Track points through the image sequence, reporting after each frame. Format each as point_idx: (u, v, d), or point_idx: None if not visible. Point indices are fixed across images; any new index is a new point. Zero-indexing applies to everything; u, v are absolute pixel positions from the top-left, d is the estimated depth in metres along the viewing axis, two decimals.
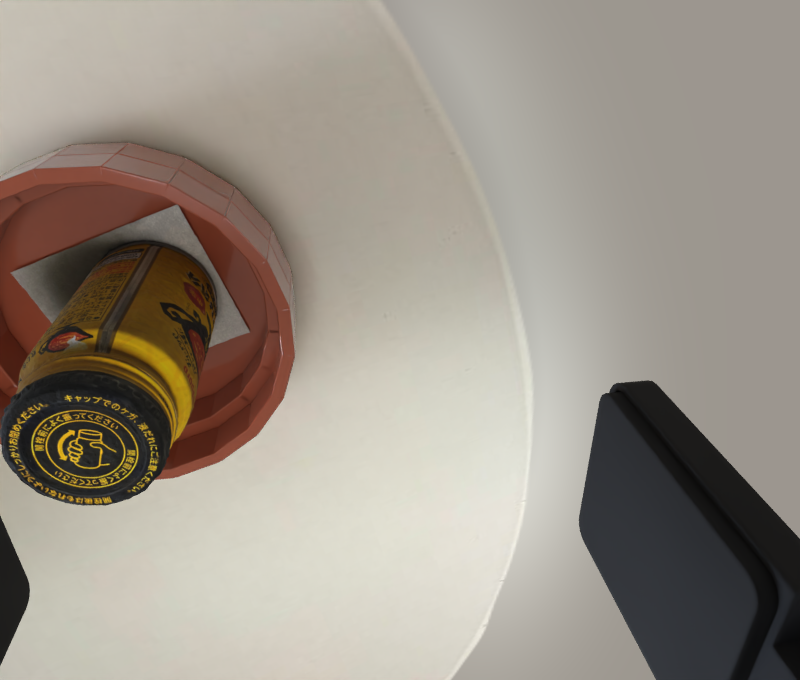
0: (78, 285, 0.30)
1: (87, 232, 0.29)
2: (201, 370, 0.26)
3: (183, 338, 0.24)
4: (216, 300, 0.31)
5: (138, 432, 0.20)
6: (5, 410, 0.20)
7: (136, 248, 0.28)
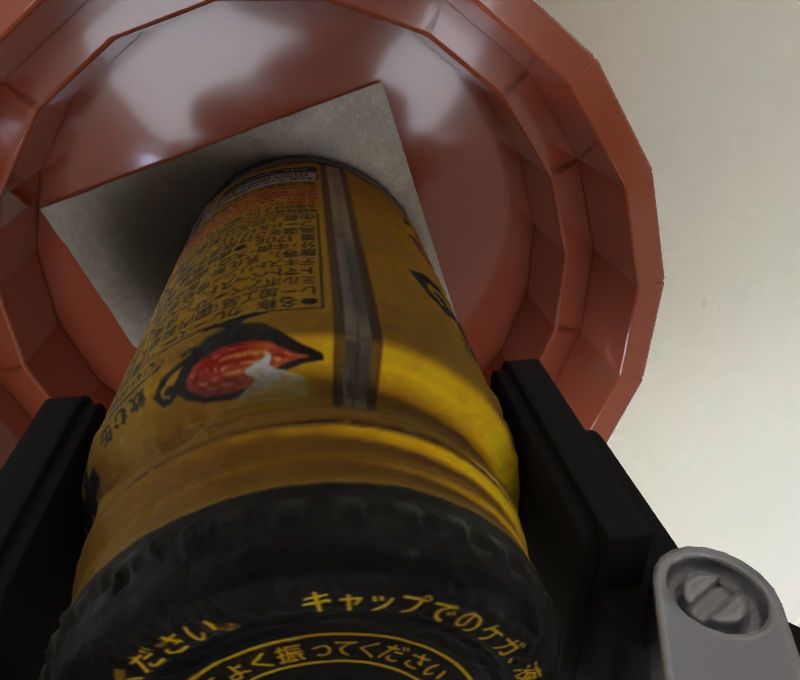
0: (169, 241, 0.15)
1: (222, 130, 0.14)
2: None
3: (474, 358, 0.10)
4: None
5: None
6: (67, 625, 0.05)
7: (299, 166, 0.14)
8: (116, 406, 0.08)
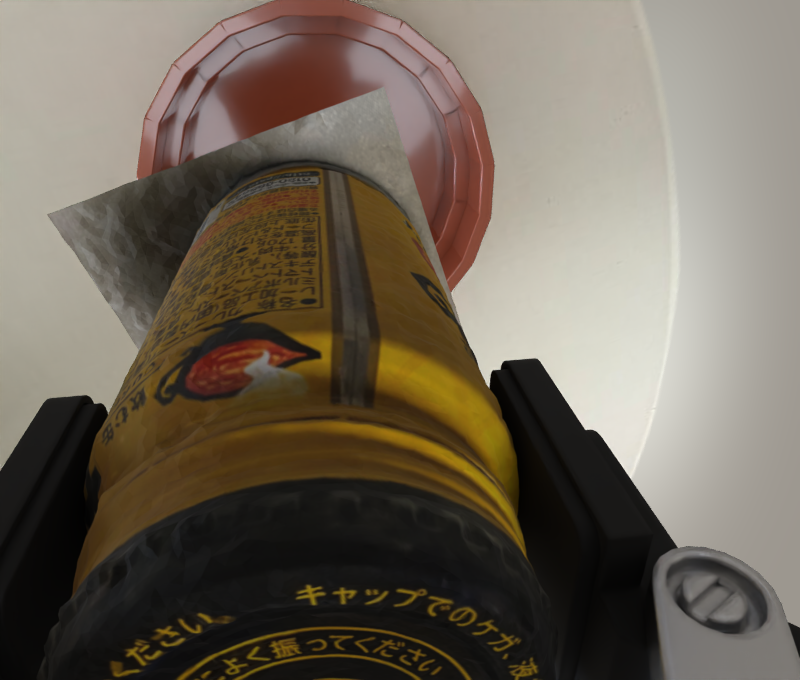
0: (174, 245, 0.15)
1: (283, 96, 0.29)
2: None
3: (474, 358, 0.10)
4: None
5: None
6: (65, 618, 0.05)
7: (302, 170, 0.14)
8: (118, 405, 0.08)
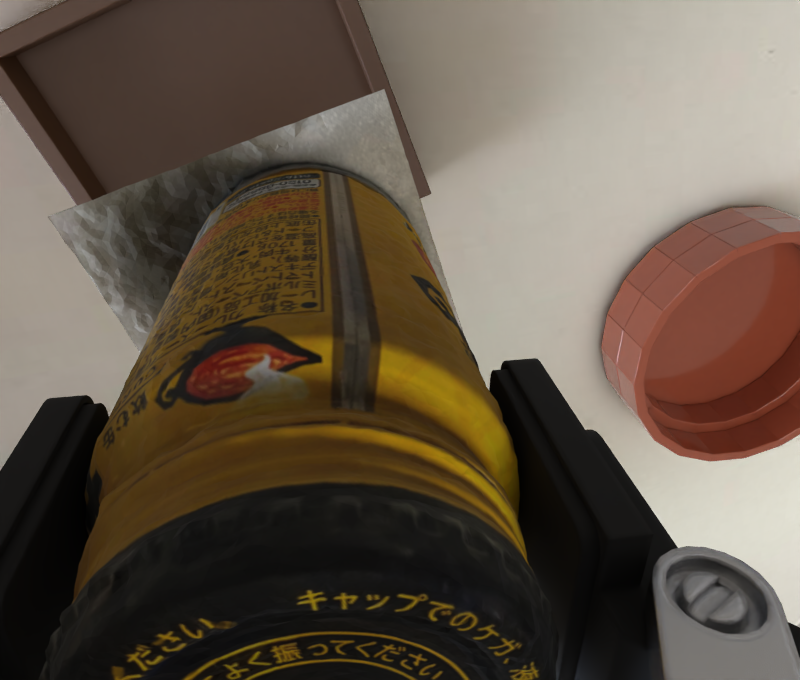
0: (174, 247, 0.15)
1: None
2: None
3: (474, 361, 0.10)
4: None
5: None
6: (67, 623, 0.05)
7: (302, 173, 0.14)
8: (118, 409, 0.08)
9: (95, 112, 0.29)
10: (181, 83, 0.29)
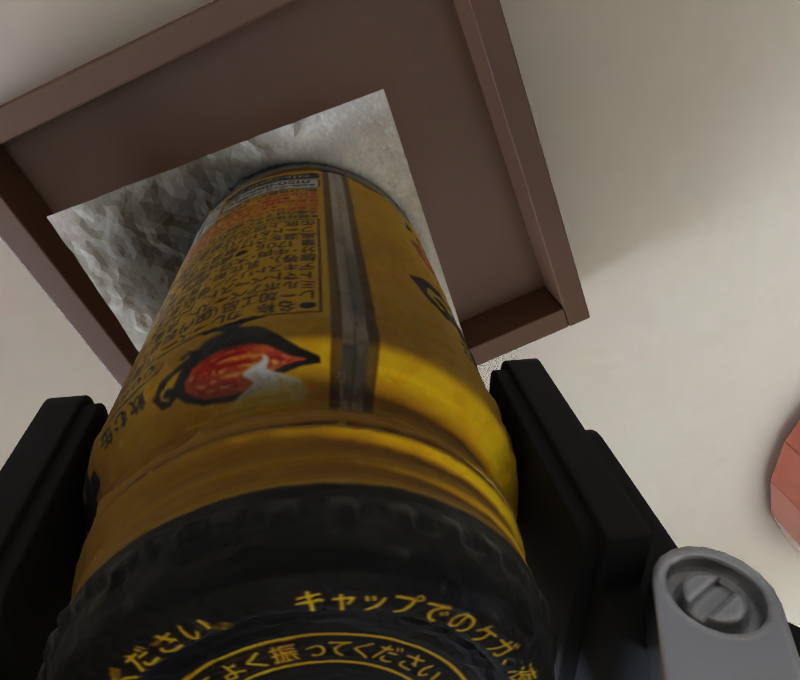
0: (173, 247, 0.15)
1: None
2: None
3: (473, 362, 0.10)
4: None
5: None
6: (64, 624, 0.05)
7: (301, 173, 0.14)
8: (116, 409, 0.08)
9: None
10: None
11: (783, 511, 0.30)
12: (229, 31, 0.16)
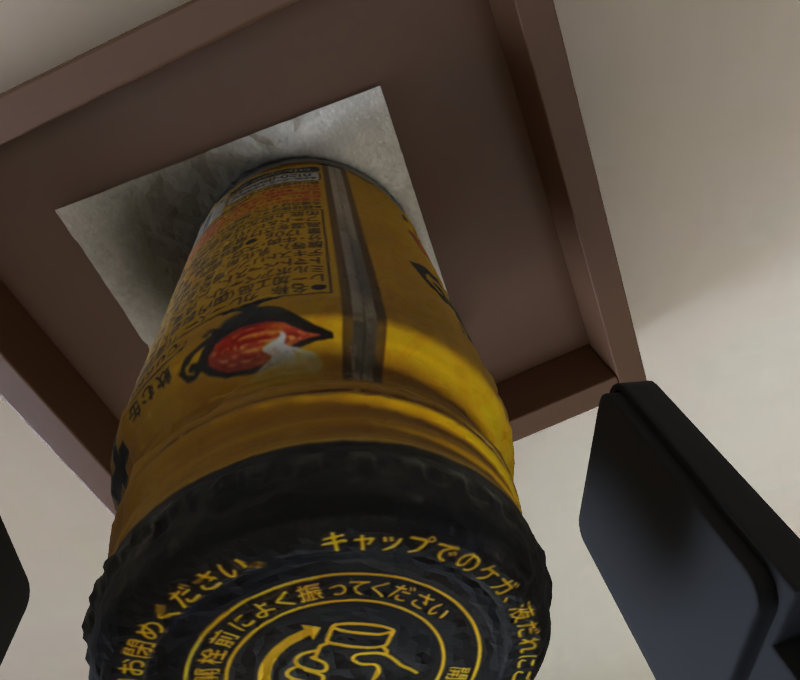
0: (177, 239, 0.16)
1: None
2: None
3: (470, 342, 0.11)
4: None
5: (501, 626, 0.07)
6: (111, 569, 0.06)
7: (302, 166, 0.15)
8: (143, 384, 0.08)
9: (72, 271, 0.16)
10: None
11: None
12: (204, 44, 0.12)
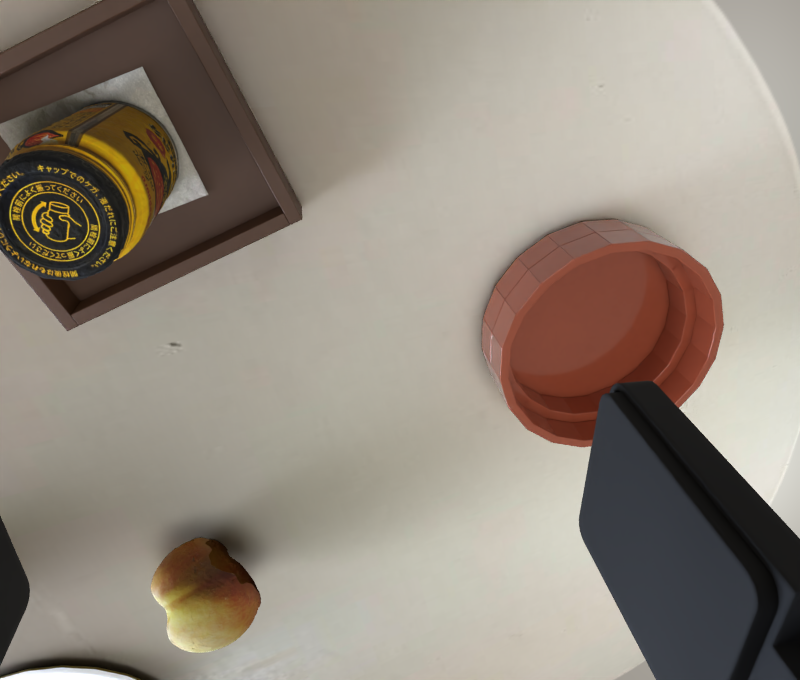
0: None
1: (570, 277, 0.43)
2: (159, 196, 0.30)
3: (143, 158, 0.28)
4: (177, 161, 0.35)
5: (99, 206, 0.24)
6: None
7: (105, 103, 0.32)
8: None
9: (5, 158, 0.34)
10: None
11: (489, 368, 0.44)
12: (50, 48, 0.30)
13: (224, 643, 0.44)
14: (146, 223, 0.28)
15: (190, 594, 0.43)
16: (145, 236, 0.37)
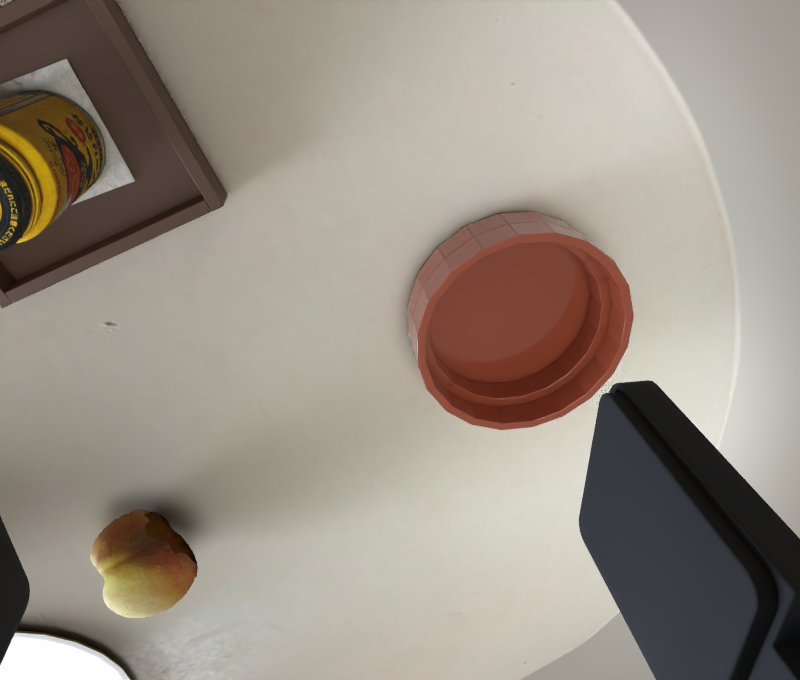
0: None
1: (491, 267, 0.45)
2: (74, 181, 0.32)
3: (54, 145, 0.30)
4: (104, 149, 0.37)
5: None
6: None
7: (30, 93, 0.34)
8: None
9: None
10: None
11: None
12: None
13: (158, 609, 0.47)
14: (55, 206, 0.30)
15: (124, 561, 0.45)
16: (77, 220, 0.39)
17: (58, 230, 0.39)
